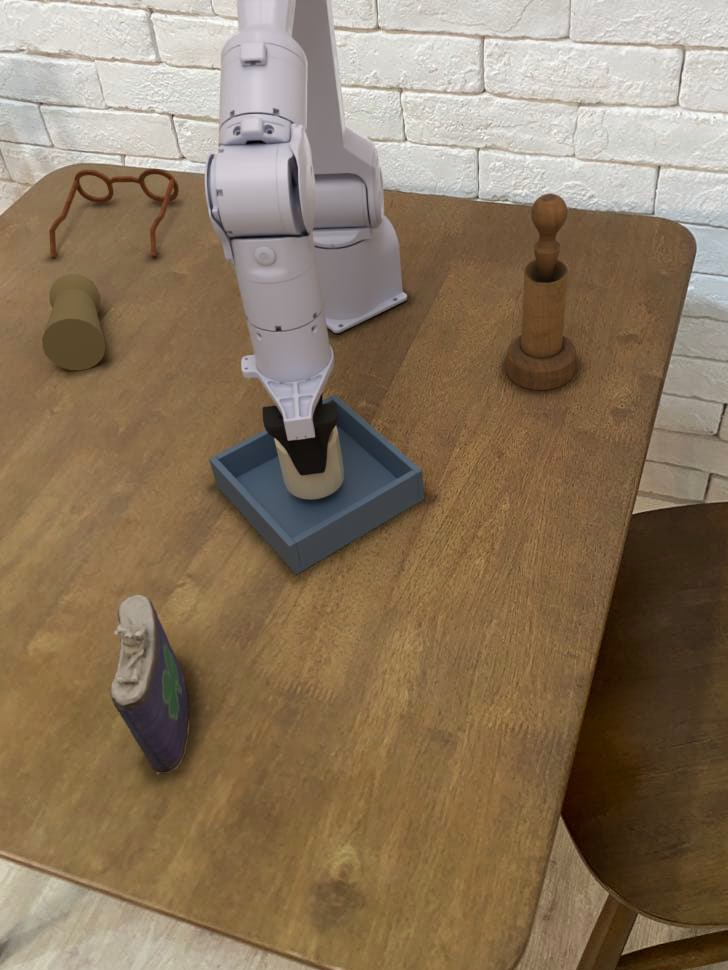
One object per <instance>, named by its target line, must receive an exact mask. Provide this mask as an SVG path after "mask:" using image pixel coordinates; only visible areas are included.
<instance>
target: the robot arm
mask: <svg viewBox="0 0 728 970" xmlns="http://www.w3.org/2000/svg"><path fill="white" fill-rule="evenodd" d="M236 10H237V11H236V12H237V26H238V32H236V33H235V34H233V35H232V36H231V37H230V38H229V39H228V40H227V41H226V42H225V43H224V45H223V47H222V49H221V53H220V78H219V79H220V80H219V81H220V82H219V112H218V113H219V114H218V116H219V117H218V144H217V145H218V148H217V151H218V152H216V154H214V153H209V154H208V155H207V157H206V160H205V165H204V192H205V193H204V194H205V201H206V205H207V212H208V217H209V220H210V224H211V226H212V229H213V231H214V233H215V235H216V236H217V238H218V240H219V241H220V243H221V246H222V251H223V255H224V259H225V260H226V262H227V263H230V264H232V265H233V267H234V268H233V269H234V272H235V273H234V274H235V276H236V281H237V285H238V289H239V294H240V298H241V303H242V307H243V312H244V316H245V320H246V325H247V330H248V334H249V338H250V343H251V347H252V350H253V354H249V355H245V356H243V357H242V358H241V360H240V370H241V374H242V377H243V378H245V379H257V380H258V381H259V382H260V383H261V385H262V386H263V388H264V390H265V391H266V393H267V395H268V396H269V397H270V399H271V400H272V402H273V403H274V405H269V406H262V423H263V427H264V430H266V431H267V433H268V434H269V435H271V436H272V437H274V438H275V439H276V440H277V441H279V442H280V444H281V445H282V446H283V447H284V448H285V450H286V451H287V453H288V455H289V457H290V459H291V460H292V462H293V464H294V466H295V468H296V470H297V471H298V473H299V474H300V475H301V476H303V475H311V474H318V473H324V472H325V469H326V463H327V448H328V441H329V437H330V435H331V432H332V431H333V429H334V427H335V426H336V423H337V419H338V410H337V403H328V404H323V400H324V398H323V396H324V395H323V393H324V389H325V387H326V385H327V383H328V381H329V378H330V376H331V374H332V372H333V369H334V367H335V353H334V350H333V347H332V345H331V342H330V340H329V332H328V329H329V330H330V331H331V332H332V333H335V334H340V333H342V332H345V331H346V330H348V329H351V328H354V327H355V326H357V325H360V324H361V323H363V322H365V321H367V320H369V319H371V318H373V317H375V316H377V315H379V314H381V313H383V312H386V311H388V310H389V309H392V308H393V307H396V306H397V305H399V304H401V303H403V302H406V301H407V300H408V294H407V293H405V292H404V291H403V278H402V264H401V252H400V251H401V250H400V242H399V239H398V235H397V233H396V229H395V228H394V226H393V224H392V222H391V221H390V220H389V218H388V217H387V216H386V215H385V192H384V190H385V189H384V179H383V171H382V166H381V165H380V159H379V150H378V148H376V143H375V142H374V141H372V140H371V139H370V138H368V137H366V136H364V135H362V134H360V133H359V132H357V131H355V130H353V129H351V128H350V127H348V126H347V124H346V117H345V116H346V115H345V108H344V107H345V106H344V99H343V90H342V82H341V81H342V80H341V73H340V65H339V57H338V48H337V40H336V31H335V24H334V23H335V22H334V13H333V5H332V0H236Z"/></svg>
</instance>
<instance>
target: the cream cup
mask: <svg viewBox="0 0 728 970" xmlns="http://www.w3.org/2000/svg"><path fill="white" fill-rule="evenodd" d="M274 440H275V444H276V449H277V453H278V458H279V462H280V466H281V471H282V475H283V479H284V484H285V487H286V489H287V490H288V491H289V492H290V493H291V494H292V495H294V496H296V497H298V498H302V499H320V498H323V497H326V496H328V495H330V494H332V493H334V492H335V491H336V490H337V489H338V488H339V487H340V486H341V484H342V483H343V480H344V467H343V460H342V454H341V448H340V441H339V435H338V430H337V427H336V426H335V427H334V429H333V431H332V432H331V435H330V437H329V441H328V448H327V463H326V469H325V472H324V473H318V474H311V475H303V476H301V475H300V474H299V473H298V471H297V470H296V468H295V466H294V464H293V462H292V460H291V459H290V457H289V455H288V453H287V451H286V450H285V448H284V447H283V446H282V445H281V444H280V442H279V441H277V440H276V439H275V438H274Z"/></svg>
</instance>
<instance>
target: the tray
mask: <svg viewBox="0 0 728 970" xmlns="http://www.w3.org/2000/svg"><path fill="white" fill-rule="evenodd" d="M328 403H337V410H338V419H337V423H336V427H337V430H338V435H339V441H340V448H341V454H342V460H343V467H344V480H343V483H342V484H341V486H340V487H339V488H338V489H337V490H336V491H335V492H334V493H332V494H330V495H328V496H326V497H323V498H320V499H302V498H298V497H296V496H294V495H292V494H291V493H290V492H289V491H288V490H287V489H286V487H285V484H284V479H283V475H282V471H281V466H280V462H279V458H278V453H277V449H276V444H275V440H274V437H272V436H271V435H269V434H268V433H267V431H266V429H264V430H262V431H260V432H258V433H256V434H254V435H252V436H251V437H248V438H247V439H245V440H242V441H241V442H239V443H237V444H235V445H233V446H231V447H229V448H226V449H225V450H223V451H221V452H220V453H218V454H216V455H214V456H211V457H209V458H208V461H209V465H210V468H211V472H212V474H213V477H214V481H215V484H216V487H217V488H218V490H219V491H220V492H221V493H222V494H223V495H224V497H226V498H227V500H228V501H229V502H230V503H231V504H232V505H233V506H234V507H235V509H236V510H237V511H238V512H239V513H240V514H241V515H242V516H243V518H245V519H246V521H247V522H248V523H249V524H250V525H251V526H252V527H253V529H254V530H255V531H256V532H257V533H258V534H259V536H261V537H262V539H263V540H264V541H265V542H266V543H267V544H268V546H270V547H271V549H272V550H273V551H274V552H275V553H276V554H277V555H278V556H279V558H280V559H281V560H282V561H283V562H284V563H285V564H286V565H287V566H288V567H289V568H290V570H291V571H292V572H293V573H294V574H295V575H299V574H300V573H302V572H303V571H306V570H307V569H308V568H310V567H312V566H314V565H315V564H318V563H319V562H320V561H322V560H323V559H325V558H327V557H329V556H330V555H332V554H334V553H335V552H337V551H339V550H341V549H342V548H344V547H345V546H347V545H349V544H351V543H353V542H354V541H356V540H358V539H360V538H361V537H363V536H365V535H366V534H368V533H369V532H371V531H373V530H374V529H376V528H378V527H379V526H382V525H383V524H384V523H386V522H388V521H389V520H392V519H393V518H394V517H396V516H398V515H400V514H401V513H403V512H405V511H407V510H408V509H410V508H412V507H413V506H415V505H417V504H418V503H420V502H422V501H423V500H425V489H424V477H423V469H421V468H420V466H418V465H417V464H416V463H415V462H414V461H412V460H411V459H410V458H409V457H408V456H406V455H405V453H404V452H402V451H401V450H400V449H398V448H397V447H396V446H395V445H394V444H393V443H392V442H391V441H389V440H388V439H387V438H386V437H385V436H384V435H383V434H381V433H380V431H378V430H377V429H375V427H373V426H372V425H371V424H369V422H367V421H366V420H365V419H364V418H363V417H362V416H360V414H358V413H357V412H356V411H355V410H354V409H353V408H352V407H350V405H348V404H347V403H346V402H345V401H344V400H342V398H340V397H339V396H338V395H336V394H335V393H333V394H332V395H330V396H328V397H326V398H323V404H328Z"/></svg>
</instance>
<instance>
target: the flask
mask: <svg viewBox="0 0 728 970" xmlns="http://www.w3.org/2000/svg"><path fill="white" fill-rule="evenodd" d="M117 618H118V625H117V627H116V629H115V630H114V631H113V634H114V635H115V636H118V635H119V634H120V637H119V642H120V644H119V653H118V663H117V667H116V672H115V674H114V678H113V680H112V682H111V685H110V691H109V694H110V698H111V700H112V703H113V705H114V707H115V708H116V711H117V712H118V713H119V715H120V718H122V720H123V721H124V723H125V725H126V727H127V728H128V729H129V730H130V733H131V734H132V737H133V738H134V740H135V742H136V744H137V745H138V746H139V748H140V749H141V751H142V753H143V754H144V757H145V758H146V759H147V761H148V764H149V767H150V768H151V769H152V770H153V771H154V772H156V775H157V776H158V775H160V774H169V773H172V772H173V771H176V770H177V769H178V768H179V766H180V765H181V764H182V762H183V758H184V756H185V754H186V751H187V743H188V739H189V731H190V725H191V724H190V717H191V716H190V715H191V714H190V711H189V700H188V697H189V696H188V688H187V684H186V678H185V675H184V671H183V668H182V666H181V665H180V663H179V661H178V659H177V656H176V654H175V651H174V649H173V648H172V646H171V644H170V641H169V638H168V636H167V635H166V632H165V629H164V627H163V624H162V623H161V621H160V618H159V616H158V613H157V611H156V609H155V607H154V603H153V601H152V600H151V599H150V598H149V597H148V596H146V595H141V594H133V595H131V596H129V597H126V598H125V599H124V600H122V601H121V602H120V604H119V606H118V611H117Z"/></svg>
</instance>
